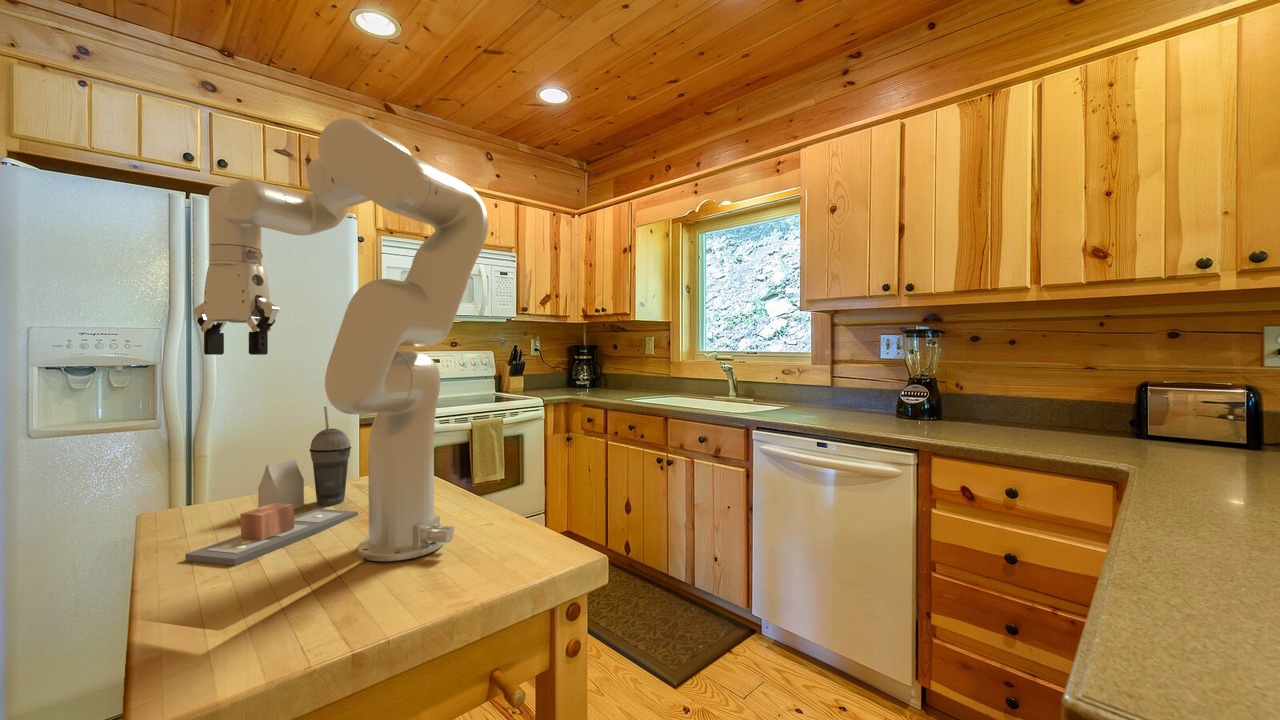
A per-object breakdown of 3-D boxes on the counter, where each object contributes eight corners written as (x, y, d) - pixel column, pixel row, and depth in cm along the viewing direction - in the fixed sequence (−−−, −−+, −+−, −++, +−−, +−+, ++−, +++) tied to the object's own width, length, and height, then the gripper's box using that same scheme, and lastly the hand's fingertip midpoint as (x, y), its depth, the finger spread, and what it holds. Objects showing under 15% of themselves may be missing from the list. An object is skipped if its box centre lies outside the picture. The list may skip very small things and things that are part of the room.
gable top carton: (303, 509, 105) (303, 458, 105) (276, 520, 98) (276, 465, 98) (286, 509, 105) (286, 458, 105) (258, 519, 99) (258, 465, 99)
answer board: (357, 517, 100) (357, 510, 100) (235, 565, 77) (235, 557, 77) (316, 513, 102) (316, 507, 102) (185, 560, 79) (185, 552, 79)
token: (293, 504, 90) (261, 515, 84) (294, 527, 90) (261, 540, 84) (273, 502, 91) (240, 513, 85) (274, 526, 91) (241, 538, 85)
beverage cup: (332, 512, 103) (332, 408, 103) (300, 510, 104) (300, 407, 104) (359, 502, 110) (359, 405, 110) (329, 500, 112) (328, 404, 111)
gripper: (293, 261, 98) (294, 354, 98) (217, 264, 102) (217, 354, 102) (256, 253, 90) (256, 354, 91) (175, 257, 94) (175, 354, 94)
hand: (236, 354), depth 96 cm, fingers open, 9 cm apart
